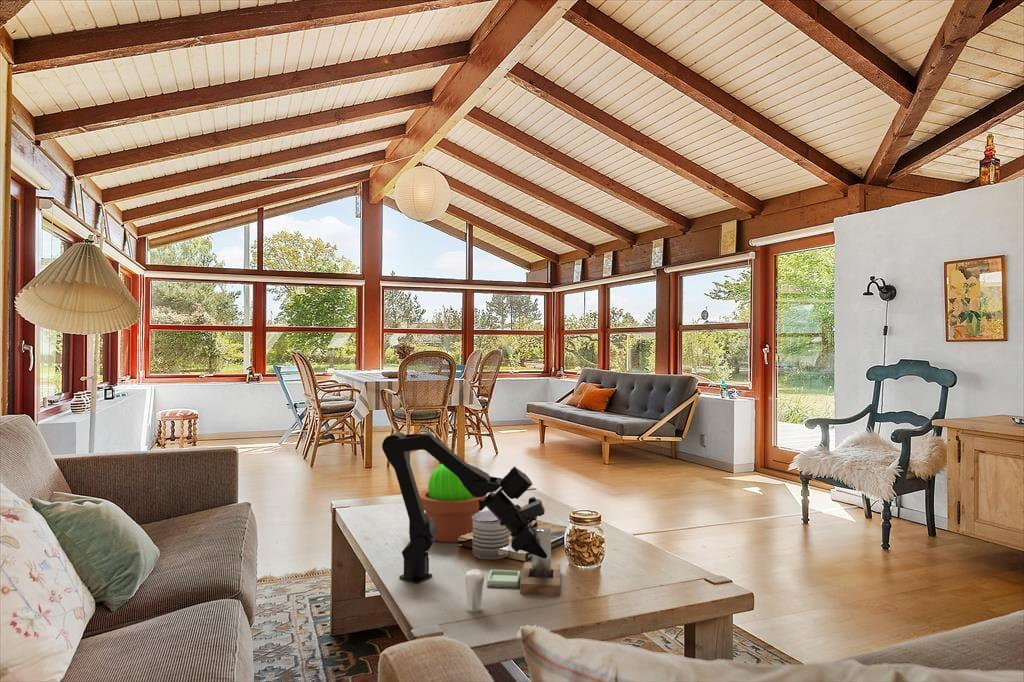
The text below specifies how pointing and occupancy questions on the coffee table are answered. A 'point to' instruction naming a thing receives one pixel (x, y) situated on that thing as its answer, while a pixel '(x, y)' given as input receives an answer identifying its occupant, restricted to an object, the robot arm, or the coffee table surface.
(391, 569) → the coffee table surface
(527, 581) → the pocket block
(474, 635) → the coffee table surface
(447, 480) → the potted cactus
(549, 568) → the steel cylinder
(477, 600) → the milkshake
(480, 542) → the can
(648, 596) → the coffee table surface
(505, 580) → the tray
